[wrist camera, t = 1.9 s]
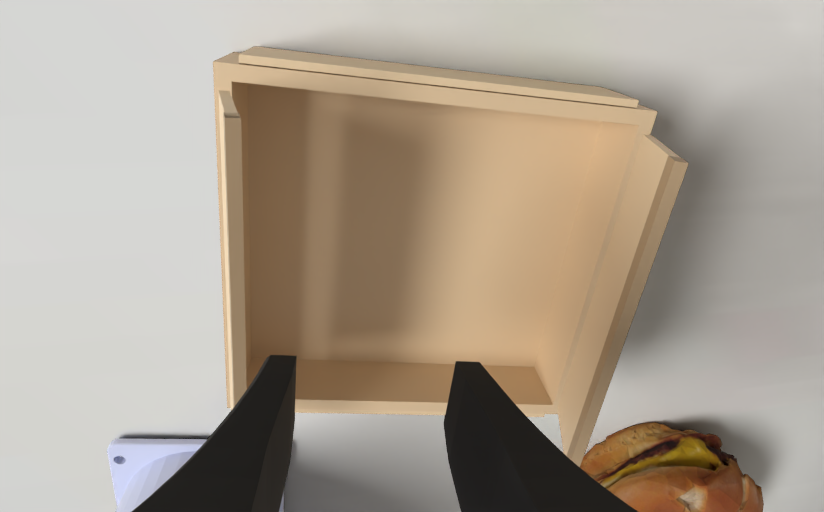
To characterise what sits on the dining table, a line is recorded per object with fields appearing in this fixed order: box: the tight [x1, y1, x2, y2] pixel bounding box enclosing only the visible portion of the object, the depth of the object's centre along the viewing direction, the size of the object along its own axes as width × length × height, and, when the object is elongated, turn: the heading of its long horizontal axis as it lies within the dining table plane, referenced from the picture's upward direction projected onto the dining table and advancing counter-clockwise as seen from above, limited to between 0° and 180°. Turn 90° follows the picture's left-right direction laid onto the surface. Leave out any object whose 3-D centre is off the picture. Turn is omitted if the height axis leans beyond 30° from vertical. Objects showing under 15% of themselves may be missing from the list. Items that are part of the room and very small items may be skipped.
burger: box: [580, 422, 764, 512], centre depth 28 cm, size 10×9×5 cm
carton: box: [213, 46, 658, 417], centre depth 20 cm, size 14×14×3 cm
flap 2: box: [557, 134, 689, 467], centre depth 18 cm, size 12×1×4 cm, turn 173°
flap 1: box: [218, 90, 247, 410], centre depth 16 cm, size 12×1×4 cm, turn 173°
